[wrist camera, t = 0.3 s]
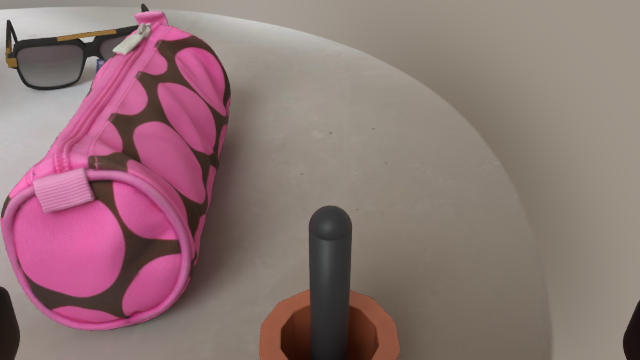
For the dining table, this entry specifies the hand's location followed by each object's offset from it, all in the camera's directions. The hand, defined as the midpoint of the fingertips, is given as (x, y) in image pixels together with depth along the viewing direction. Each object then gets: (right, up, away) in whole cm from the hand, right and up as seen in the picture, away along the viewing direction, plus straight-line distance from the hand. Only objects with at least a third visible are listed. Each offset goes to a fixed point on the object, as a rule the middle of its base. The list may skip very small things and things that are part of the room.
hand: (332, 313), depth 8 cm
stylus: (0, -8, +15) cm, 17 cm away
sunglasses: (-24, +14, +50) cm, 57 cm away
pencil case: (-11, 0, +28) cm, 30 cm away
